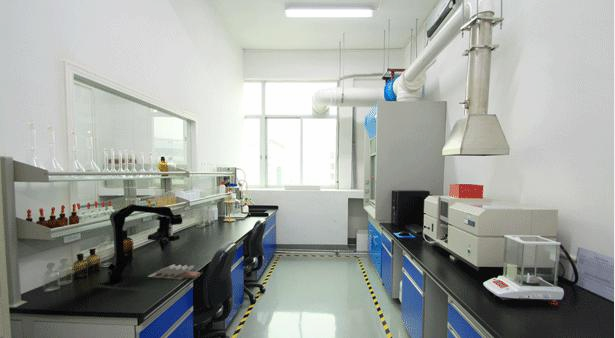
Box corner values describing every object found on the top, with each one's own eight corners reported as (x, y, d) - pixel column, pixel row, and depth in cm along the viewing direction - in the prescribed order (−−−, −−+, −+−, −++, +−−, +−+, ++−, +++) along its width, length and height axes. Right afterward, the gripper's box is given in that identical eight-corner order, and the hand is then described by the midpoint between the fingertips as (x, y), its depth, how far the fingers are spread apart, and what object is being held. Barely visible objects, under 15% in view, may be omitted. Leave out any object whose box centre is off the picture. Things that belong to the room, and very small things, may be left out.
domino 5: (179, 274, 147) (195, 275, 146) (185, 271, 152) (200, 272, 151) (179, 277, 147) (195, 278, 146) (184, 273, 152) (200, 275, 151)
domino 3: (167, 273, 149) (181, 267, 147) (173, 270, 153) (186, 264, 152) (168, 275, 148) (182, 270, 147) (174, 272, 153) (187, 267, 152)
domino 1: (155, 272, 150) (169, 266, 149) (161, 269, 155) (174, 263, 154) (155, 274, 150) (170, 269, 148) (161, 271, 155) (175, 266, 153)
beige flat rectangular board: (146, 278, 147) (147, 276, 147) (160, 271, 158) (160, 269, 158) (180, 281, 144) (180, 279, 144) (192, 274, 155) (192, 272, 155)
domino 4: (173, 273, 148) (188, 267, 147) (179, 270, 153) (193, 264, 151) (174, 276, 148) (188, 270, 146) (180, 273, 153) (194, 267, 151)
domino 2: (161, 272, 149) (175, 267, 148) (166, 269, 154) (180, 264, 153) (161, 275, 149) (176, 269, 148) (167, 272, 154) (181, 266, 153)
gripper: (141, 227, 154) (140, 253, 153) (168, 229, 151) (167, 255, 151) (154, 224, 165) (153, 248, 164) (180, 226, 162) (179, 250, 162)
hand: (163, 250), depth 160 cm, fingers closed
